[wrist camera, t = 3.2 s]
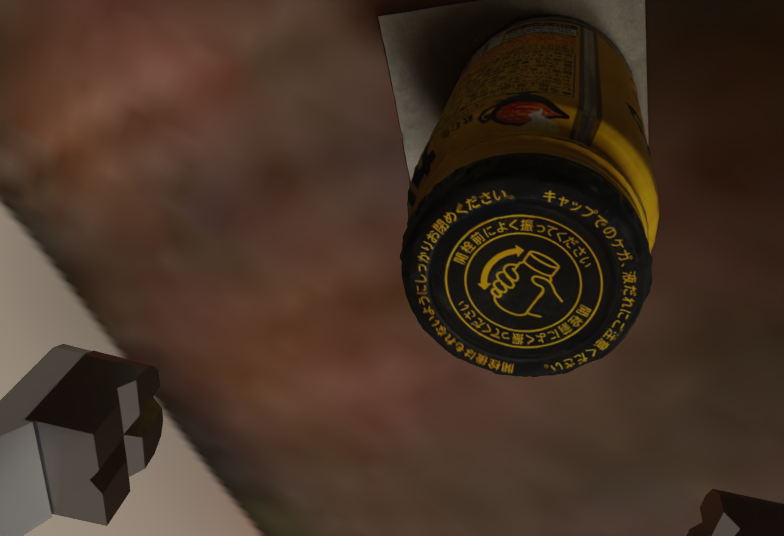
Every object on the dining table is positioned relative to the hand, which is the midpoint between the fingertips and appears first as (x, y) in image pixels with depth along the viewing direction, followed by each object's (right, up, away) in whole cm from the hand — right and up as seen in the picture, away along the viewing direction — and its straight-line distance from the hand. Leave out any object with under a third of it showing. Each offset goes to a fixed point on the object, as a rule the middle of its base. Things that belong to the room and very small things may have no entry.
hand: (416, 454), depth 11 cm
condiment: (+4, +8, +15) cm, 18 cm away
